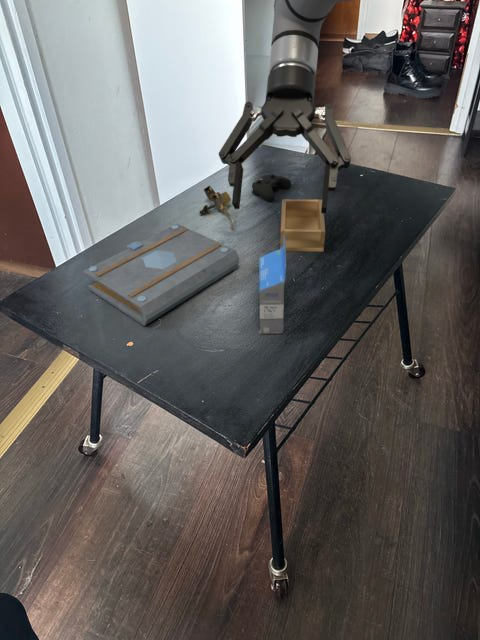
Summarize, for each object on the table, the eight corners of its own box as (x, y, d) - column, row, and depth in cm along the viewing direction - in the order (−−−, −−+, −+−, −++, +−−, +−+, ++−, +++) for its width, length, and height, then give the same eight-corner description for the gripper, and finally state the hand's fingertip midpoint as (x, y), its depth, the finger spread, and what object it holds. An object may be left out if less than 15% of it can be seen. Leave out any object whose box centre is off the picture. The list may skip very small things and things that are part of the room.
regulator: (248, 229, 98) (224, 190, 107) (243, 216, 95) (218, 176, 104) (216, 246, 98) (194, 205, 107) (209, 233, 95) (188, 192, 104)
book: (148, 330, 73) (142, 305, 70) (87, 290, 82) (80, 265, 79) (239, 271, 85) (238, 247, 82) (178, 241, 94) (175, 218, 90)
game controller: (273, 200, 104) (257, 177, 103) (259, 212, 108) (242, 190, 107) (294, 183, 110) (278, 162, 109) (280, 195, 114) (264, 175, 113)
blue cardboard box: (259, 299, 78) (258, 233, 71) (282, 299, 78) (284, 232, 70) (258, 334, 72) (257, 266, 64) (284, 334, 71) (287, 265, 63)
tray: (320, 218, 99) (322, 199, 96) (323, 251, 89) (325, 231, 86) (281, 218, 100) (282, 199, 97) (280, 251, 90) (280, 230, 87)
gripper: (370, 91, 76) (359, 220, 75) (218, 90, 80) (205, 212, 79) (376, 62, 69) (364, 204, 67) (209, 62, 73) (194, 196, 71)
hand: (279, 208), depth 73 cm, fingers open, 13 cm apart
